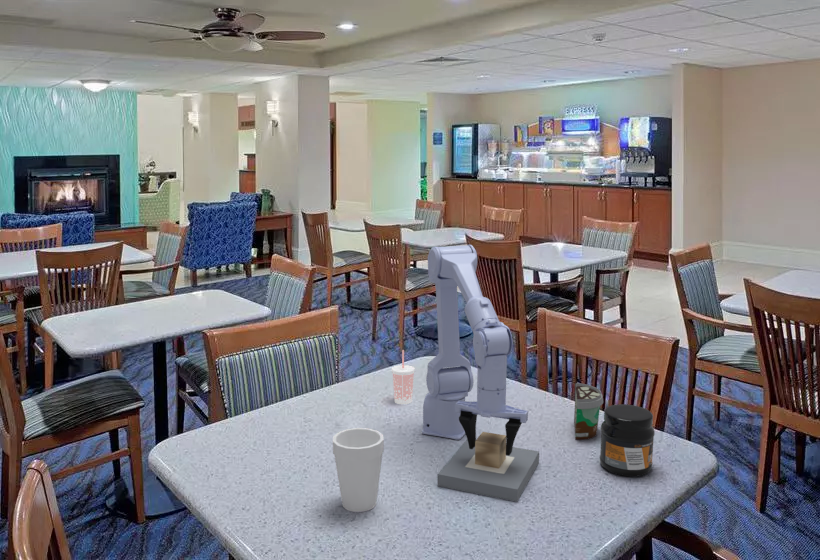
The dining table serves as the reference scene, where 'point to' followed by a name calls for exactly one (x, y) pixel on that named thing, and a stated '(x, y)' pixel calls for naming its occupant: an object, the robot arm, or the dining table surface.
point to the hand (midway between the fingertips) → (490, 450)
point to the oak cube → (490, 449)
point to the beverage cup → (403, 382)
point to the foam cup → (358, 466)
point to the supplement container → (627, 440)
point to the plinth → (489, 473)
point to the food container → (586, 411)
